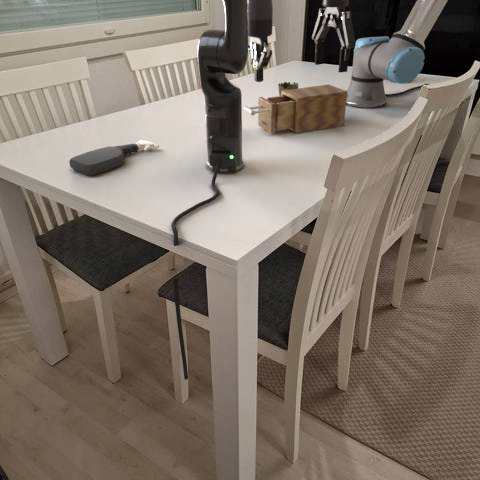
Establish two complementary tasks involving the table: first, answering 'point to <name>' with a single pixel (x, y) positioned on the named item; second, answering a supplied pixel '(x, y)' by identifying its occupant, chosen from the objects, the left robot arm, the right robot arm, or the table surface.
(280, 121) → the drawer
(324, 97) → the cabinet
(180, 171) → the table surface
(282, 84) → the cup
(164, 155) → the table surface
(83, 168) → the spray bottle
